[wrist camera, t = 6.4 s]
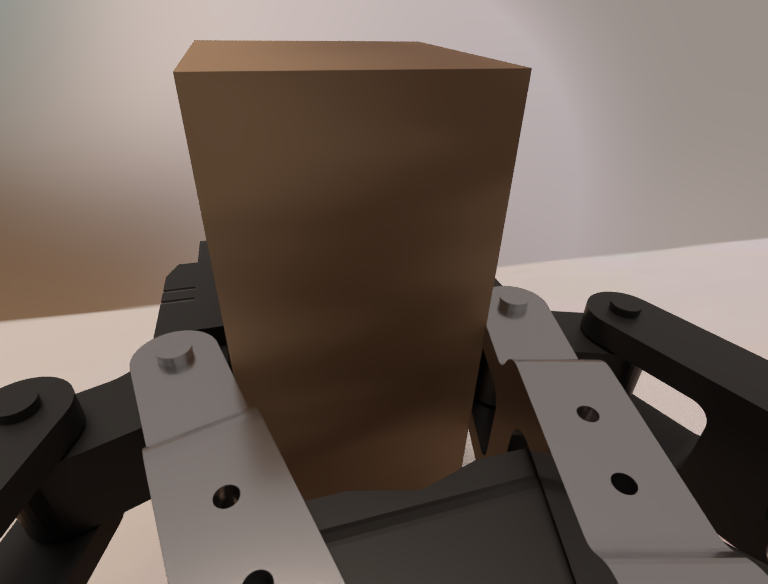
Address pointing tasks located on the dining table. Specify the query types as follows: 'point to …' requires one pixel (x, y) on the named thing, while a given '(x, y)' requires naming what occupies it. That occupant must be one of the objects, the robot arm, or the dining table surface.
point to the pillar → (354, 242)
